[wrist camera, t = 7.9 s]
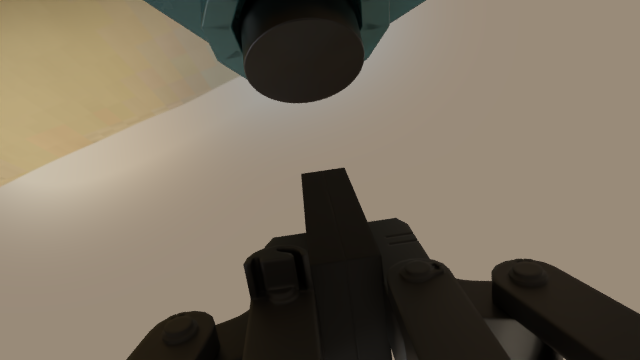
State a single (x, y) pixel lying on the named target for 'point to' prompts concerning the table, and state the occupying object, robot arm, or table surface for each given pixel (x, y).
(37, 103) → the table surface
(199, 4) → the teal block with knob
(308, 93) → the push button
